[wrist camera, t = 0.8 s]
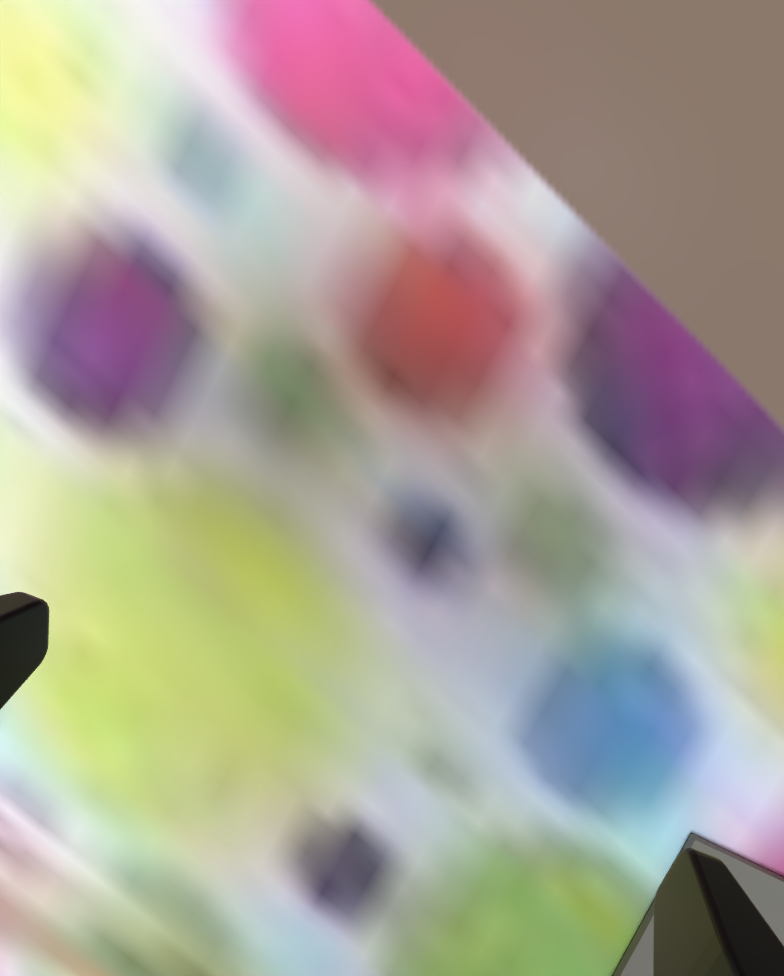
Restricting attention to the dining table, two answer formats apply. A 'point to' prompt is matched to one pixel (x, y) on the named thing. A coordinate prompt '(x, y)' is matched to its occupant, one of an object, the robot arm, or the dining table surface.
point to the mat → (767, 890)
